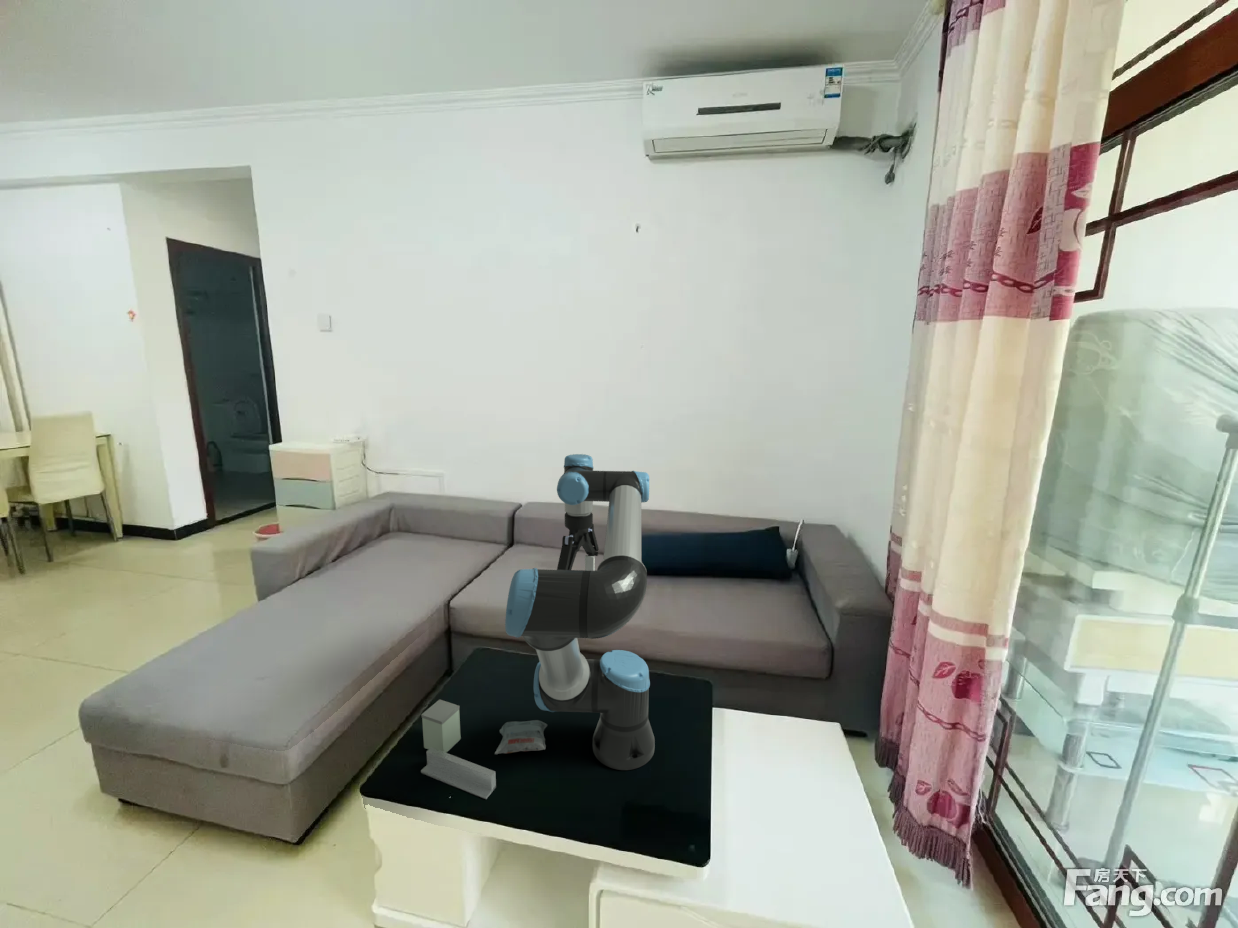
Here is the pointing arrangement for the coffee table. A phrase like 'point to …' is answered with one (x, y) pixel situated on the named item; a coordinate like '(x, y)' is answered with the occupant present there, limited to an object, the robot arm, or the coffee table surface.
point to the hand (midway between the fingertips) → (578, 587)
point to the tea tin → (441, 726)
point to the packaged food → (522, 736)
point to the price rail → (460, 773)
